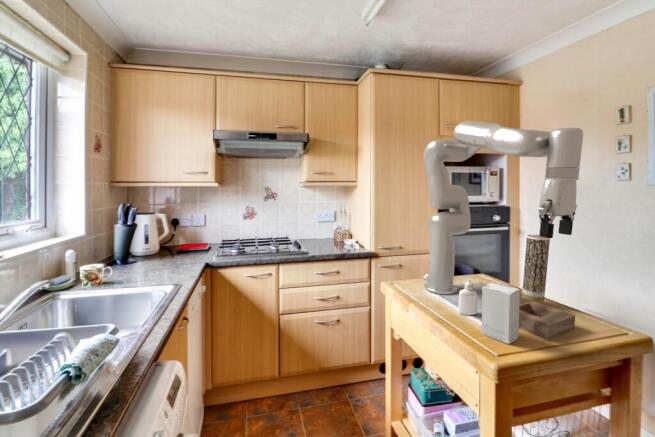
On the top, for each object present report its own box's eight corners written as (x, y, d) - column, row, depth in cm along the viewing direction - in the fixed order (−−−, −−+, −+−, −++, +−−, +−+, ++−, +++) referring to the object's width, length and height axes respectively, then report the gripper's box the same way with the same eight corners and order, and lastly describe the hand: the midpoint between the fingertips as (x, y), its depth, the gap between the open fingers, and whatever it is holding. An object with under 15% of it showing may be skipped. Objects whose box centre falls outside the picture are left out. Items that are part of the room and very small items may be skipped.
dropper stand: (495, 318, 106) (496, 305, 105) (521, 309, 112) (522, 297, 112) (547, 340, 92) (549, 325, 91) (573, 329, 98) (575, 315, 98)
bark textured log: (547, 309, 113) (553, 238, 110) (525, 307, 114) (531, 238, 111) (538, 301, 120) (544, 235, 116) (518, 300, 121) (523, 234, 118)
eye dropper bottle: (474, 318, 106) (476, 282, 105) (456, 313, 110) (458, 279, 108) (477, 313, 110) (479, 279, 108) (460, 309, 113) (462, 276, 112)
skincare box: (518, 339, 93) (522, 289, 91) (508, 345, 89) (512, 293, 87) (489, 327, 100) (492, 281, 98) (479, 333, 96) (482, 285, 94)
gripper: (563, 174, 97) (557, 231, 99) (529, 174, 88) (524, 236, 91) (593, 174, 90) (586, 235, 92) (559, 174, 82) (553, 241, 84)
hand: (555, 235), depth 92 cm, fingers open, 9 cm apart
